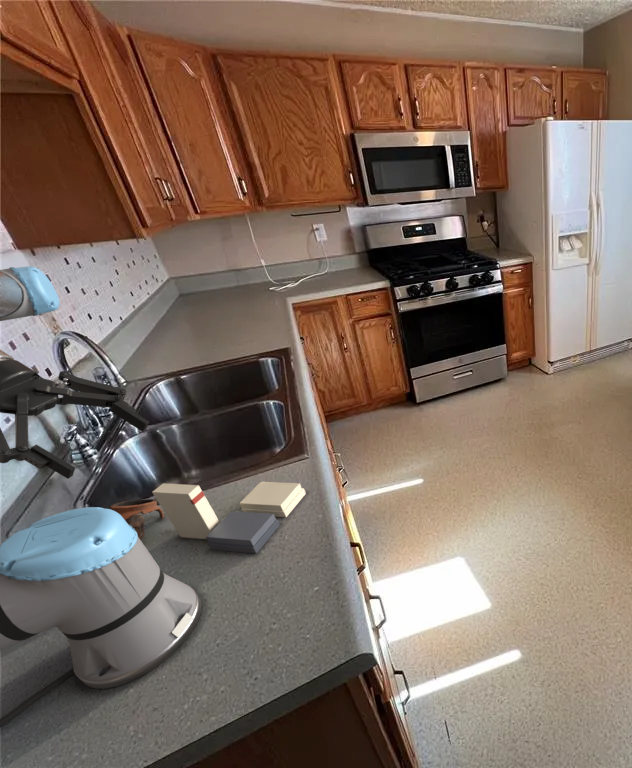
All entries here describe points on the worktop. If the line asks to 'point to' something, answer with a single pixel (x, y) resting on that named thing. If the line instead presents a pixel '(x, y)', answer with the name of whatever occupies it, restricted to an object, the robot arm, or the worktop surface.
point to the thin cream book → (187, 509)
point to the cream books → (273, 498)
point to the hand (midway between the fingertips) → (112, 448)
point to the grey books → (242, 532)
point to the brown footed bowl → (136, 512)
